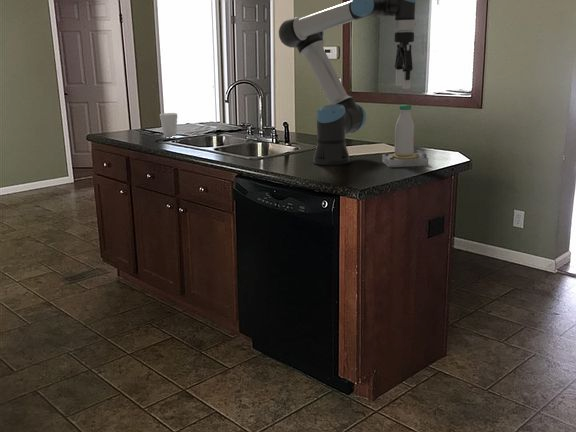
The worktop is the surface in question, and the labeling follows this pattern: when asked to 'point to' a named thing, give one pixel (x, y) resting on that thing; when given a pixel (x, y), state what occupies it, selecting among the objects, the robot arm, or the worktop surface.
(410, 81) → the robot arm
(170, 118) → the foam cup
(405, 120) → the milk bottle
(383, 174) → the worktop surface
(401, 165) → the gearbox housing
